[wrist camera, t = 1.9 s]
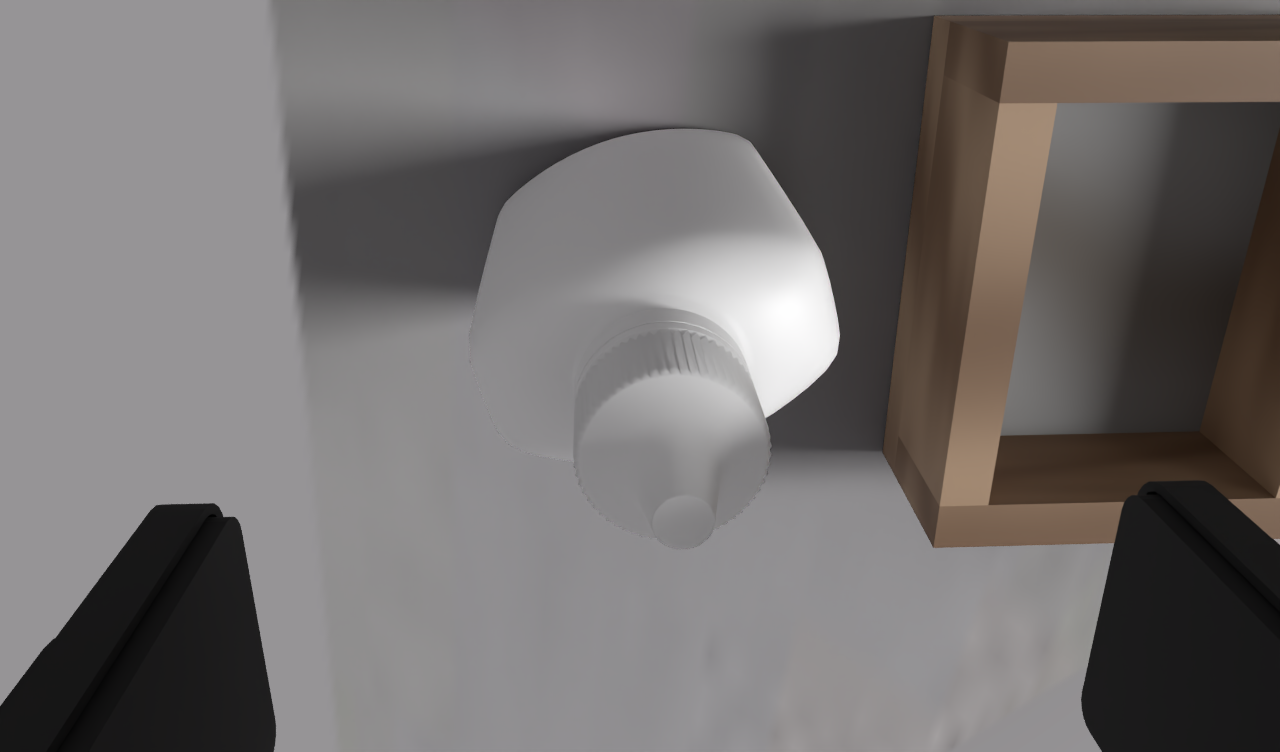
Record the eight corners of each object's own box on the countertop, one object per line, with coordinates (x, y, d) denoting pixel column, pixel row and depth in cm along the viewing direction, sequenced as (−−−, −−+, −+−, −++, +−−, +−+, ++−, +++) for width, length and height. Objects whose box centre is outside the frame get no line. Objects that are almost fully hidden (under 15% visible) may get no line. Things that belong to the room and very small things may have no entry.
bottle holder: (934, 15, 21) (1009, 41, 17) (1320, 15, 21) (1474, 40, 17) (882, 452, 25) (933, 547, 21) (1205, 445, 25) (1309, 538, 22)
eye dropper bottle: (733, 330, 23) (863, 710, 12) (486, 280, 23) (396, 640, 12) (788, 141, 22) (995, 394, 11) (523, 80, 21) (458, 286, 10)
